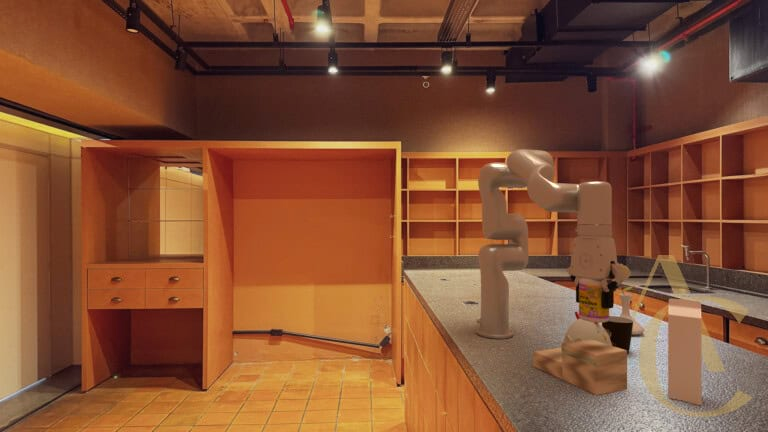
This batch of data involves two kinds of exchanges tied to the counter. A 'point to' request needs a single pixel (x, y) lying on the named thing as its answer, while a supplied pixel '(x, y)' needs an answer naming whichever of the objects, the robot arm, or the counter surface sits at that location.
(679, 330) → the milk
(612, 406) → the counter surface
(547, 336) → the counter surface
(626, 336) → the coffee mug
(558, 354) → the stand
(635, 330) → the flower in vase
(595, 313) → the supplement bottle
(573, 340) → the kitchen timer
